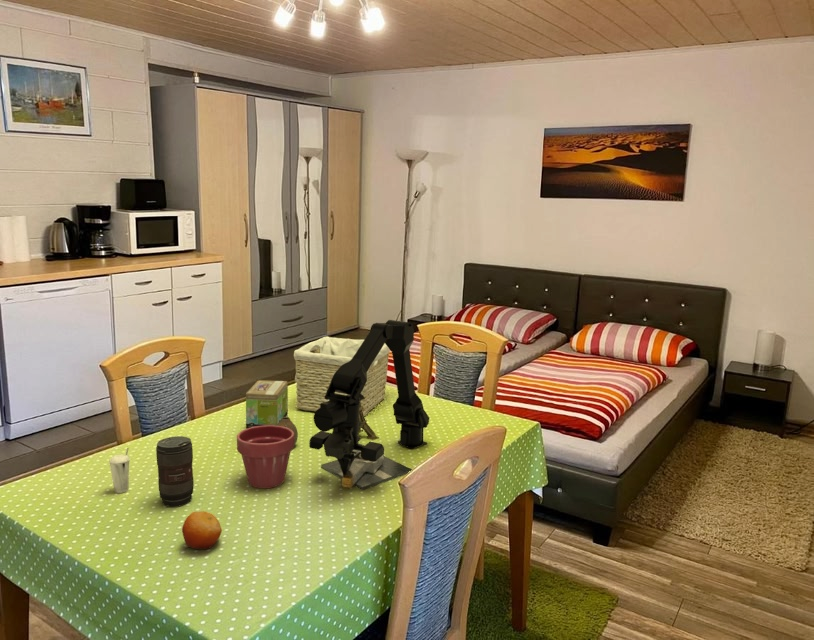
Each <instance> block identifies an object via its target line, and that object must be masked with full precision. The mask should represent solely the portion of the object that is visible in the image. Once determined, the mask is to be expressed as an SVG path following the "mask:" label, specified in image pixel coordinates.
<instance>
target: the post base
mask: <svg viewBox="0 0 814 640" xmlns="http://www.w3.org/2000/svg"><path fill="white" fill-rule="evenodd" d="M359 459H362V457H361V454H360V455H359ZM320 466H321V468H322V469H323V470H325V471H327V472H328V473H330V474H333V475H334V476H336V477H337V478H339V479H341V480H342V478H343V472H342V470H341V467H340V464H339V462H338V459H334V460H331V461H329V462H324V463H322V464H321V465H320ZM349 470H350V469H349ZM411 470H412V471H413V469H412V468H411V467H408V466H406V465H404V464H402V463H400V462H398V461H396V460H395V459H394V460H393V459H391V458H390V457H387V456H386V455H384V463H383V464H382V465H381V466H380V467H379V468H378V470H377V471H376V472H375V473H370V472H365V473H364V474H363V475H362V476H361V477H360V478H359V479H358V480H357V481H356V483H355V484H354V485H353V486H354V487H356V488H357V489H359V490H360V491H364V490H366V489H369V488H373V487H375V486H379V485H380V484H383V483H385V482H388V481H391V480H394V479H397V478H399V477H403V476H405V475H408V474H409V473H408V472H409V471H411ZM407 473H408V474H407Z"/></svg>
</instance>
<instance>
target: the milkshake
mask: <svg viewBox="0 0 814 640" xmlns="http://www.w3.org/2000/svg"><path fill="white" fill-rule="evenodd" d="M128 453H129V447H127V448H126V451H125V454H115V455H113V456H112V457H110V458H109V467H110V472H111V479H112V486H113V490H114V492H115V493H116V494H124V493H127V492H128V491H129V488H130V486H129V485H130V482H129V481H130V456H128Z"/></svg>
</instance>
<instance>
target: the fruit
mask: <svg viewBox="0 0 814 640" xmlns="http://www.w3.org/2000/svg"><path fill="white" fill-rule="evenodd" d="M181 528H182V529H181V531H182V536H183V540H184V542H185V547H184V548H183V550H184V551H185V550H186V549H187V548H192V549H196V550H208V549H210V548H211V547H213V546H214V545H215V544H216V542H217V541H218V539H220V536H221V535H222V531H223V530H222V526H221V523H220V521H219V519H218V518H217V517H216V516H215V515H214V514H213V513H211V512H207V511H204V510H203V511H202V510H201V511H194V512H193V511H192V512H191V513H190V514H189V515H188V516H187V517H186V518H185V520H184V522H183V524H182V527H181Z"/></svg>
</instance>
